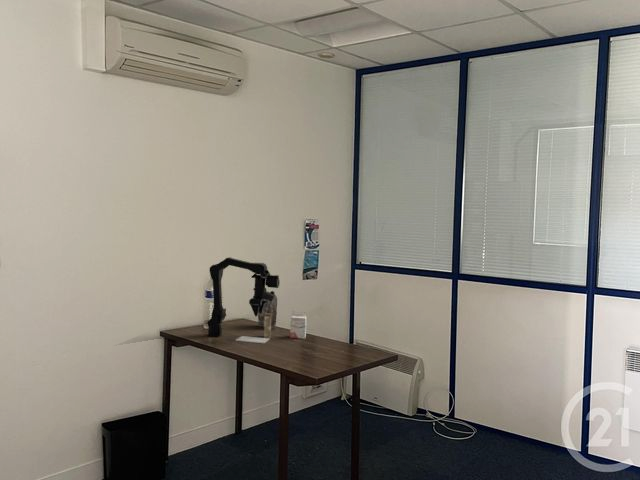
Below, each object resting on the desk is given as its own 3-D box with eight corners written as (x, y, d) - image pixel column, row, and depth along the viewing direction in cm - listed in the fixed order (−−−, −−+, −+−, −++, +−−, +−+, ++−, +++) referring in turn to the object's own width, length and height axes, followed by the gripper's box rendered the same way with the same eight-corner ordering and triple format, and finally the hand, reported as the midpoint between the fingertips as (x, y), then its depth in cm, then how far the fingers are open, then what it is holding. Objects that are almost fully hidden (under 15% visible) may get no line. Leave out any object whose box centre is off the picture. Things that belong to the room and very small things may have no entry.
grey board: (235, 340, 331) (235, 339, 331) (242, 336, 340) (242, 336, 340) (263, 343, 327) (263, 342, 327) (269, 339, 337) (269, 338, 337)
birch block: (263, 338, 340) (264, 314, 339) (264, 336, 345) (265, 313, 344) (270, 338, 340) (271, 314, 339) (270, 336, 345) (271, 313, 344)
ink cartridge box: (289, 337, 342) (290, 311, 342) (291, 335, 347) (291, 310, 346) (305, 338, 342) (305, 312, 341) (306, 336, 347) (307, 310, 346)
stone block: (255, 326, 370) (256, 293, 368) (264, 324, 375) (265, 292, 373) (269, 330, 360) (270, 296, 359) (278, 328, 365) (279, 295, 364)
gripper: (270, 290, 324) (268, 319, 325) (278, 285, 342) (276, 313, 343) (249, 288, 326) (248, 317, 327) (258, 283, 344) (257, 311, 345)
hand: (258, 314), depth 335 cm, fingers open, 9 cm apart
